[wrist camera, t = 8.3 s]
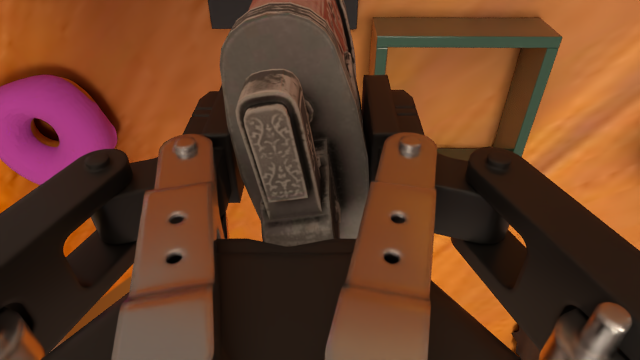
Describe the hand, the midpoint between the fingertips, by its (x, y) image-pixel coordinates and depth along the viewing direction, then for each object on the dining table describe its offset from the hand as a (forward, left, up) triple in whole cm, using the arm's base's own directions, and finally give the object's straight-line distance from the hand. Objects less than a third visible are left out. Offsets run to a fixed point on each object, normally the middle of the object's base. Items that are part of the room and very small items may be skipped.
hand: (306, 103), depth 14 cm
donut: (+13, -23, -21) cm, 34 cm away
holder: (+10, +10, -21) cm, 26 cm away
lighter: (0, 0, -4) cm, 4 cm away
